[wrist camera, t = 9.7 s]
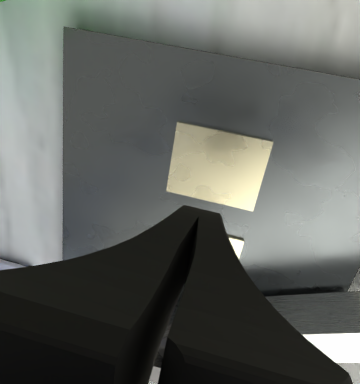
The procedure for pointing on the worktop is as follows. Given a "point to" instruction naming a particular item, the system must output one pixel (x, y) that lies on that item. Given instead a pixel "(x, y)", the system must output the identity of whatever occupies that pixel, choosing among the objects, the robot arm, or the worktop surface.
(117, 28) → the worktop surface
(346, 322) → the swing bar
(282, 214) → the chassis tray
